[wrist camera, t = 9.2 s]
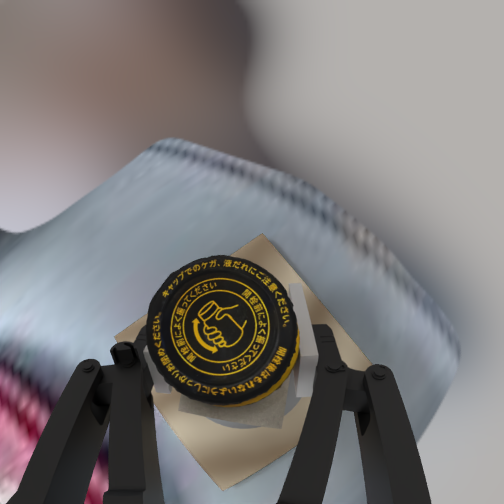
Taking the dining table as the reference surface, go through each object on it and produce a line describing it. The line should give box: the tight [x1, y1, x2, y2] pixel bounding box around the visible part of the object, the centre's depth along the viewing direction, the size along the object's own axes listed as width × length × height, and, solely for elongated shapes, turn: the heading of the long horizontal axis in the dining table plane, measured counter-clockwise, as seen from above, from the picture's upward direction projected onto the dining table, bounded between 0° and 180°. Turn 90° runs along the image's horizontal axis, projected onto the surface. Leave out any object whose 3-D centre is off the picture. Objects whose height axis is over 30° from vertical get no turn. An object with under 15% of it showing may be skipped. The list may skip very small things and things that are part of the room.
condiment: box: [145, 255, 300, 429], centre depth 15 cm, size 7×8×12 cm
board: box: [114, 233, 372, 491], centre depth 21 cm, size 15×15×1 cm
